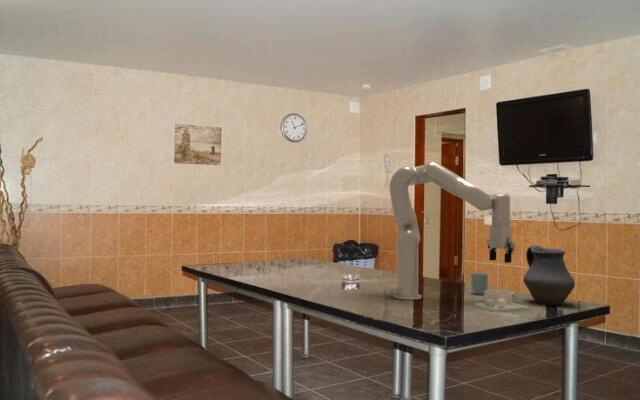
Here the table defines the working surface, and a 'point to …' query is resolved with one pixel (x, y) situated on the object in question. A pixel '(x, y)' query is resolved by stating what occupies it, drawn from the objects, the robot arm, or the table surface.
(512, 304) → the tray
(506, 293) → the bowl
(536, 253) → the pitcher
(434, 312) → the table surface
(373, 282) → the table surface
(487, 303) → the pebble
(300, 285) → the table surface
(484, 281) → the cup
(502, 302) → the pebble
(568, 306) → the table surface
